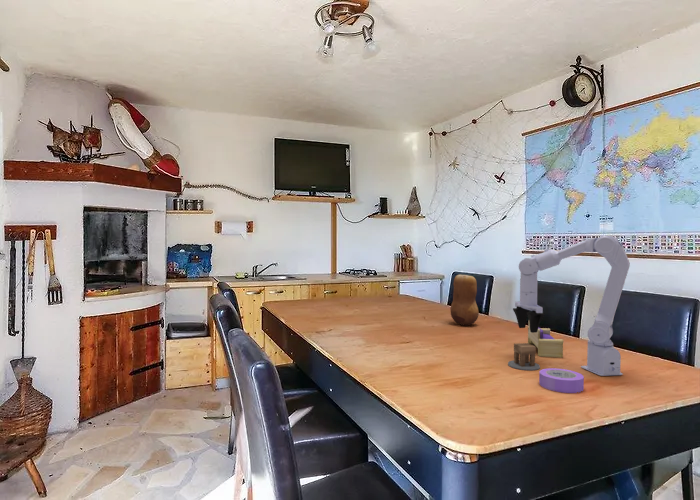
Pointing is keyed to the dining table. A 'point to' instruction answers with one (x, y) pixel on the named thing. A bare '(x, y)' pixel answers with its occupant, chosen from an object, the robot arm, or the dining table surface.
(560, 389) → the masking tape
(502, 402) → the dining table surface
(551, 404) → the dining table surface
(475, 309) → the butternut squash
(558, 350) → the toy sofa
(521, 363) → the wooden toy stool
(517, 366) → the mat
